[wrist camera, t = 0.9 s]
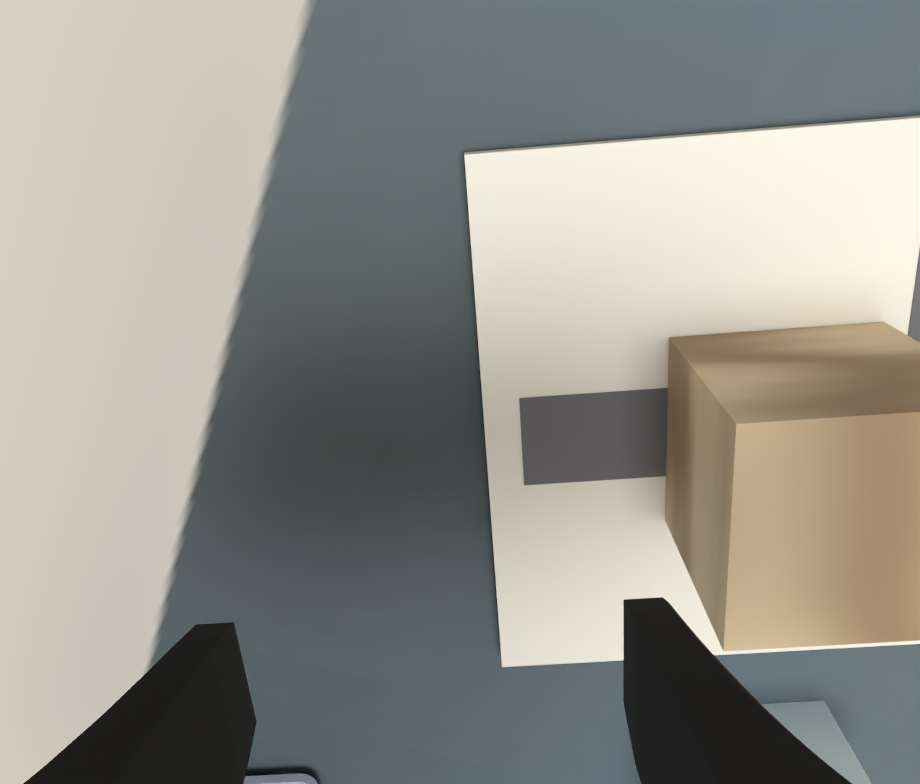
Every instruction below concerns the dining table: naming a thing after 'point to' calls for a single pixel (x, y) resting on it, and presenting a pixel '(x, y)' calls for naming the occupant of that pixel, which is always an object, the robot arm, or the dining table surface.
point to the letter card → (653, 336)
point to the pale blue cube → (820, 736)
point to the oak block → (798, 483)
